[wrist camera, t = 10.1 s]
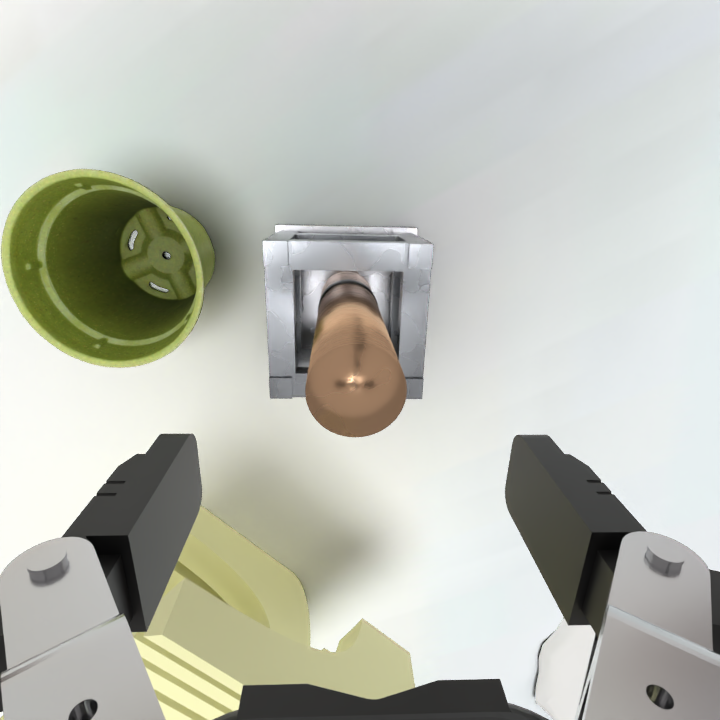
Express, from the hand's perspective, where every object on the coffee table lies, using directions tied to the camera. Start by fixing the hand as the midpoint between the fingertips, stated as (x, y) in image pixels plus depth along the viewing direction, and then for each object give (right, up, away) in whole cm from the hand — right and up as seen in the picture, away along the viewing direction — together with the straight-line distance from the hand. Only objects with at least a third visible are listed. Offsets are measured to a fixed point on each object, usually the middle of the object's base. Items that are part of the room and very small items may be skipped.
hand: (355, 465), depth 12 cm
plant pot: (-13, +10, +19) cm, 24 cm away
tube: (-1, +7, +19) cm, 20 cm away
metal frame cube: (-1, +7, +20) cm, 21 cm away
